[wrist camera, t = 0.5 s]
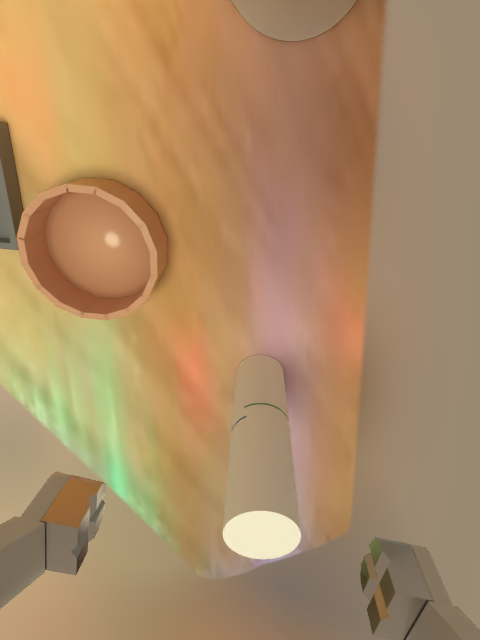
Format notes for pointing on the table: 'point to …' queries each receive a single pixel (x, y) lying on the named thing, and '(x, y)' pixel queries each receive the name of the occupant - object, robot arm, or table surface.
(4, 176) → the parts tray
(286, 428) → the cylindrical container
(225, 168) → the table surface
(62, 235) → the terracotta bowl
